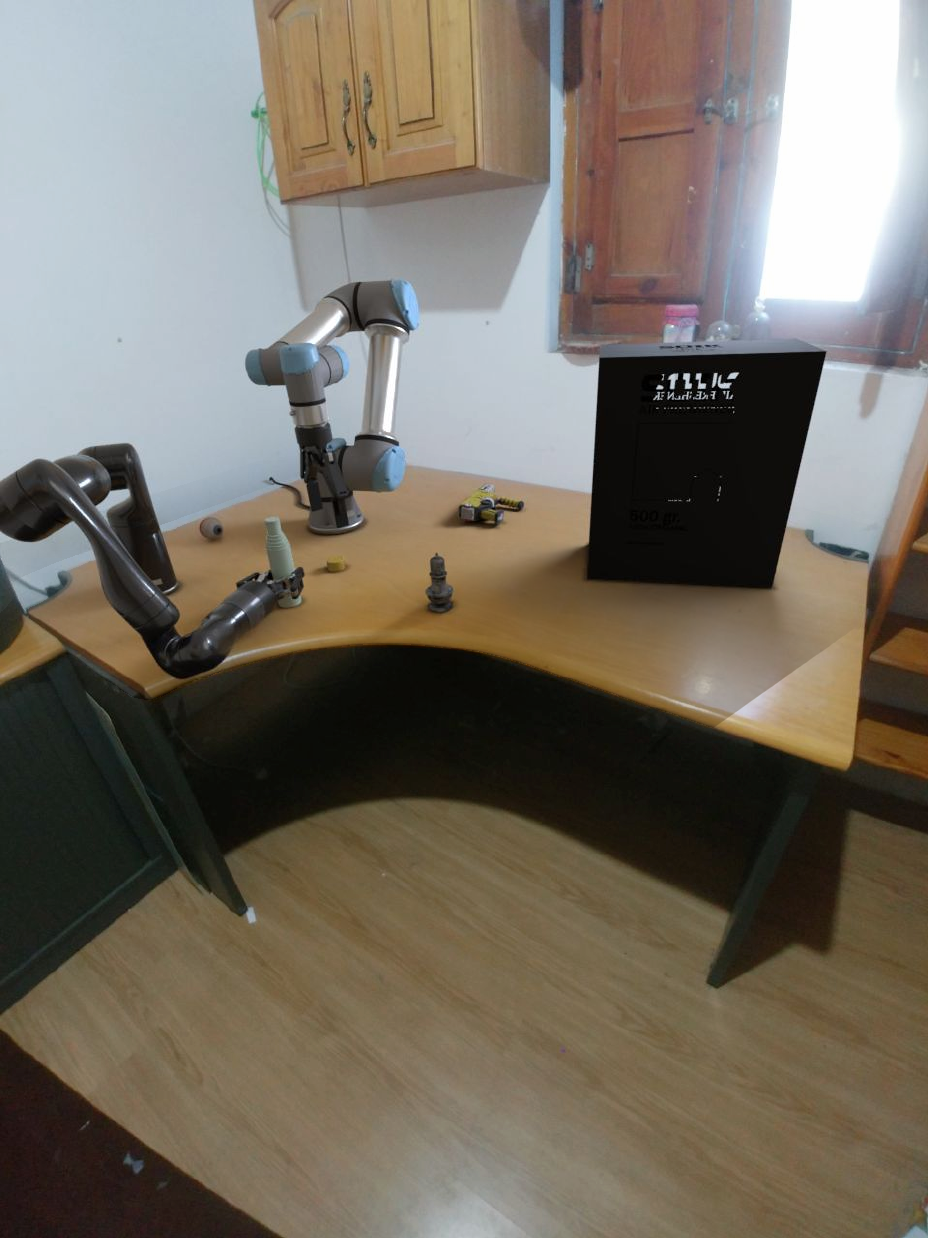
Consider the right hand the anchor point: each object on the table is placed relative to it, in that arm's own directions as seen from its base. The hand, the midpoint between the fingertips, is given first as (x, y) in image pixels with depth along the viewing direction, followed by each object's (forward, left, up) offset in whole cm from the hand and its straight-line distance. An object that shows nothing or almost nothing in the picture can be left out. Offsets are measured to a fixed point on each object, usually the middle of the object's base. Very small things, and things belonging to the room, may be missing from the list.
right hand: (329, 518), depth 139 cm
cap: (0, -1, -10) cm, 10 cm away
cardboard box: (+52, +59, -13) cm, 79 cm away
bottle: (+9, -16, -13) cm, 22 cm away
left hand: (+8, -14, -6) cm, 17 cm away
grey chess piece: (+33, +8, -13) cm, 36 cm away
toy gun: (-3, +52, -13) cm, 53 cm away
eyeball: (-40, -17, -13) cm, 46 cm away
